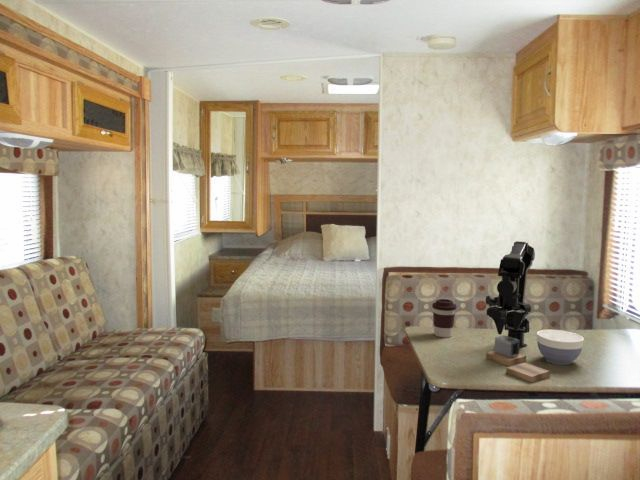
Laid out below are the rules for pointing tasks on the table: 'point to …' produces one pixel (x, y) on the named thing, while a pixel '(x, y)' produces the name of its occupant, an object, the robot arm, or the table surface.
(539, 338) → the bowl
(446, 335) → the coffee cup
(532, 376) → the stand
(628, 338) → the table surface
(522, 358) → the stand
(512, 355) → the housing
